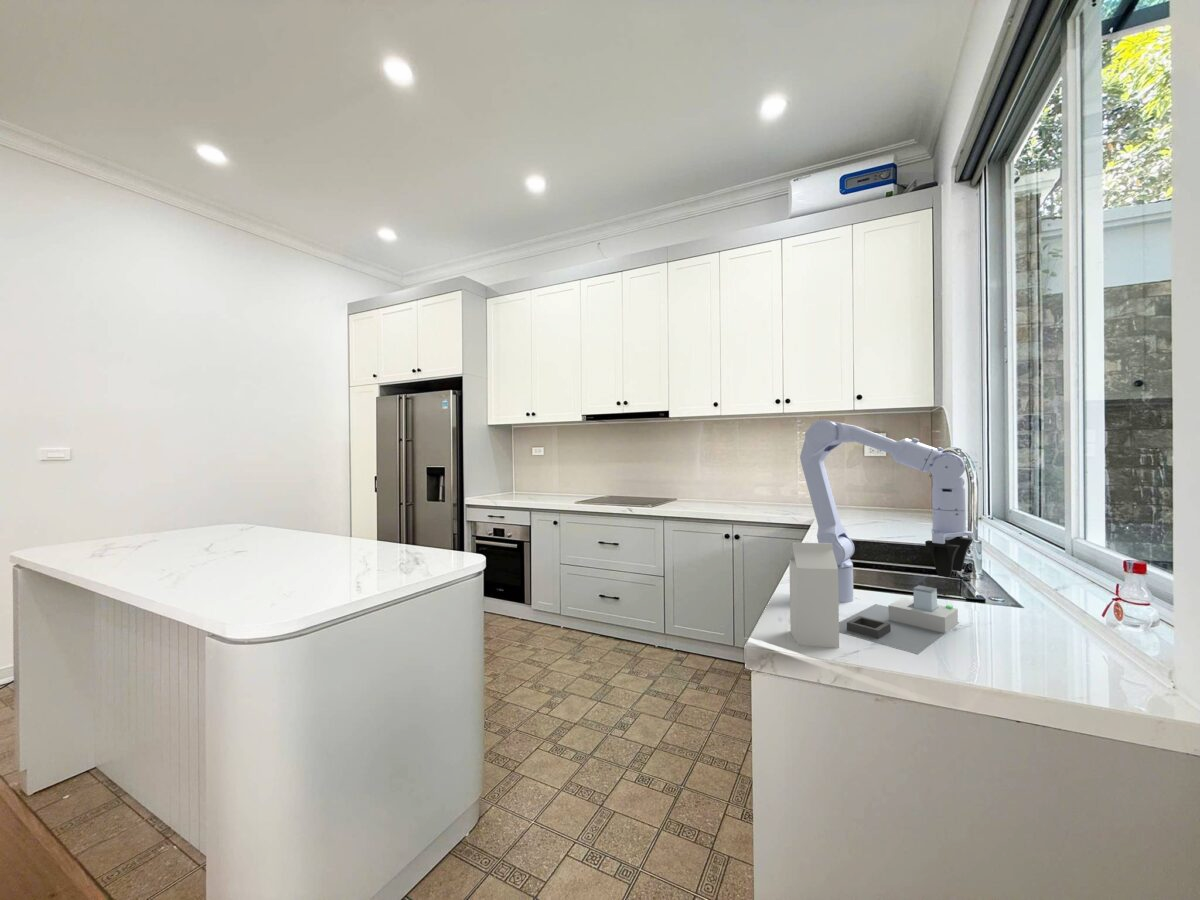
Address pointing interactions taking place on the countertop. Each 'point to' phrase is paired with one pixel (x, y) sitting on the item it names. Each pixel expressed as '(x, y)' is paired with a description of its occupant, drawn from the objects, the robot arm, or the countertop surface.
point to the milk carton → (814, 595)
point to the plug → (925, 598)
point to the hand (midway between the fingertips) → (949, 573)
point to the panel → (901, 625)
